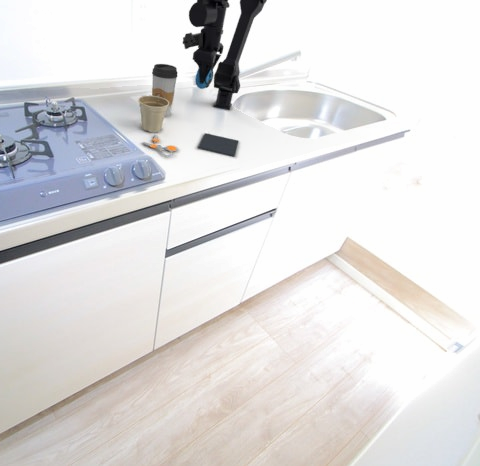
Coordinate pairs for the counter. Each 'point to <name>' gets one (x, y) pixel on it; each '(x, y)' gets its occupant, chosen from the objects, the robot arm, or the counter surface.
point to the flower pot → (152, 112)
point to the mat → (218, 144)
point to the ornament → (207, 81)
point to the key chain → (169, 148)
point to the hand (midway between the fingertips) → (204, 80)
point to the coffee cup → (164, 83)
